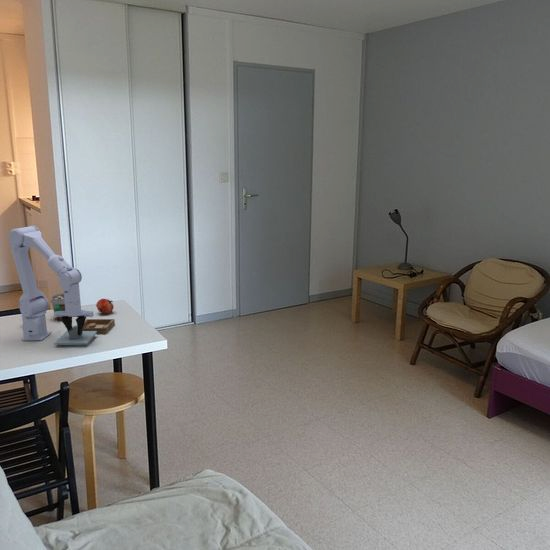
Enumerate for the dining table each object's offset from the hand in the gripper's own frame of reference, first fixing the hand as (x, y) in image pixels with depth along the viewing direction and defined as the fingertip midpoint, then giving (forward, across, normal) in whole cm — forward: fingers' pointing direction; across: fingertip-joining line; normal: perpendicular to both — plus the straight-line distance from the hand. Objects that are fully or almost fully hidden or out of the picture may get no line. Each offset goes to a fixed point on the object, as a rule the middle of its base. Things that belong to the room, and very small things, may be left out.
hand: (75, 334), depth 205 cm
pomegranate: (+3, 0, -37) cm, 37 cm away
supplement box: (+3, +26, -21) cm, 34 cm away
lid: (+2, 0, 0) cm, 2 cm away
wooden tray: (+3, -3, -15) cm, 16 cm away
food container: (+3, +18, -30) cm, 35 cm away
